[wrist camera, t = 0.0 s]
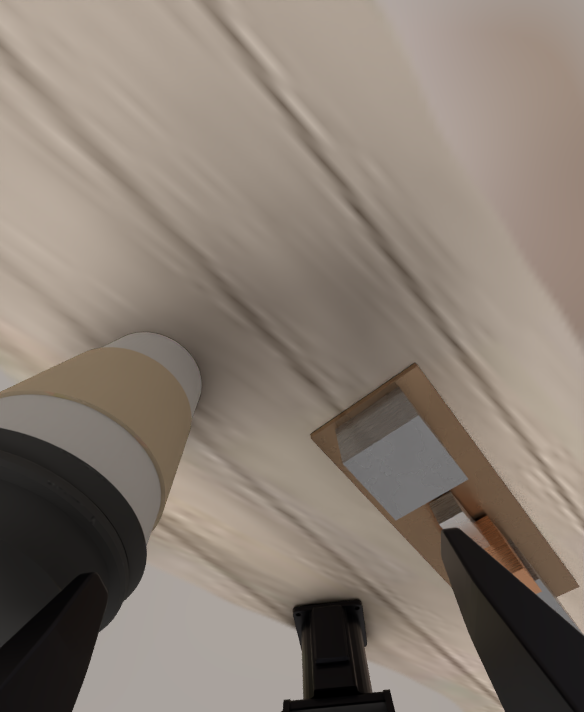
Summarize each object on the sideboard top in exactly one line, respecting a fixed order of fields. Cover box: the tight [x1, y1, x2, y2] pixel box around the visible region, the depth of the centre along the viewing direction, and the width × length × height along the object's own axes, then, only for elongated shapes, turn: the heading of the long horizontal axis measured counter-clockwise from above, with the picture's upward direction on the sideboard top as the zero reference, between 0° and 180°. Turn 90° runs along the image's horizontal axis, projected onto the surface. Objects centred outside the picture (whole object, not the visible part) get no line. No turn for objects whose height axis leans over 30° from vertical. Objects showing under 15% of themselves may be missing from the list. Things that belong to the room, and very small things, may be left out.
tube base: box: [310, 363, 584, 635], centre depth 26 cm, size 28×9×4 cm, turn 39°
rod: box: [429, 492, 542, 594], centre depth 26 cm, size 16×4×4 cm, turn 39°
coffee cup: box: [0, 332, 202, 648], centre depth 16 cm, size 9×9×15 cm
